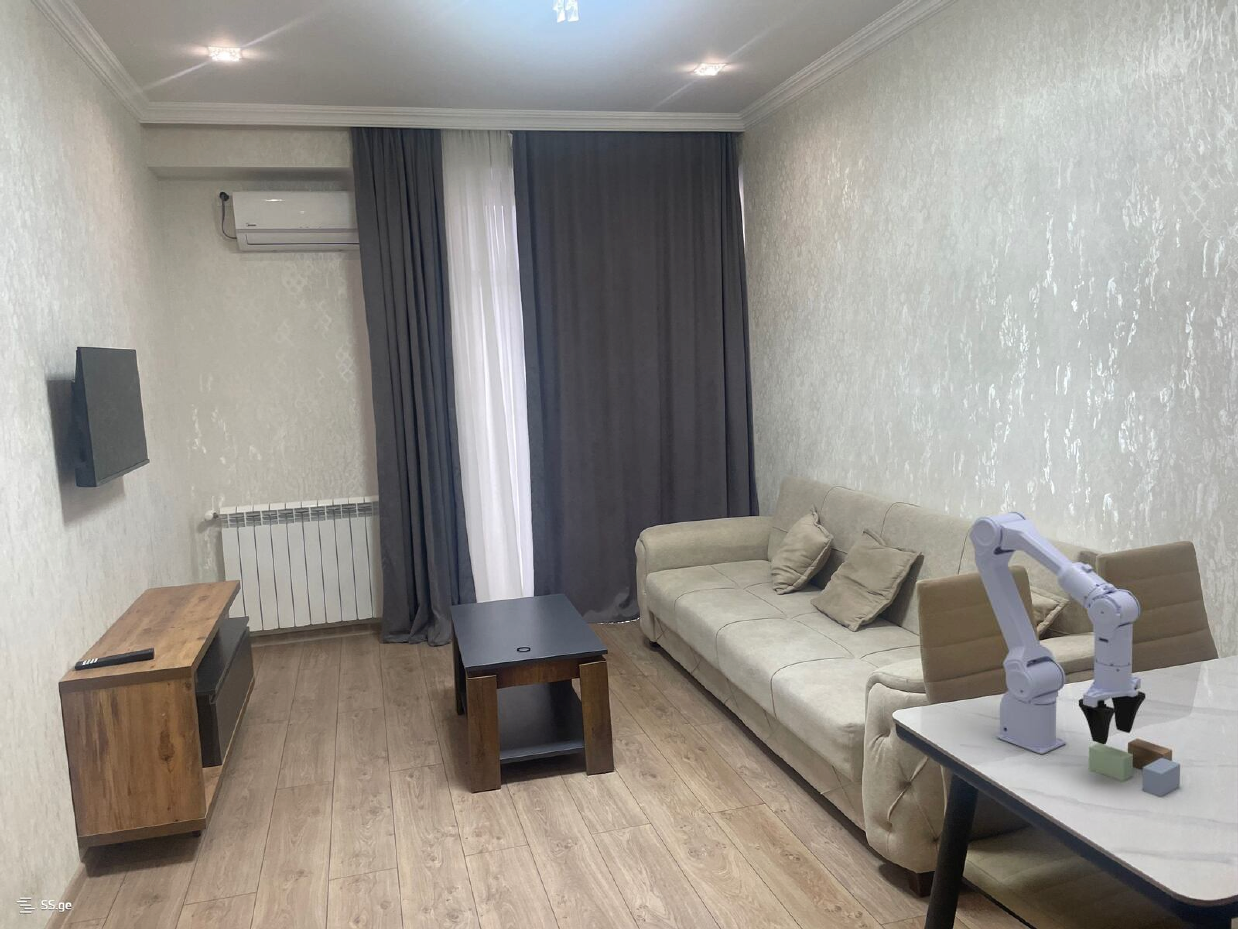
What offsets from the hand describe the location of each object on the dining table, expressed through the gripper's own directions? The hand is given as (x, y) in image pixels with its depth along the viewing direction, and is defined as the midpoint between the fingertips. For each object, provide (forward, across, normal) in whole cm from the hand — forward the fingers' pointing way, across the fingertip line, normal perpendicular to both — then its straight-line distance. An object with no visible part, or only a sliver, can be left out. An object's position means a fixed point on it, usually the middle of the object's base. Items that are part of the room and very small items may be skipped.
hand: (1111, 736), depth 156 cm
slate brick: (+7, +1, -8) cm, 10 cm away
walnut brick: (+7, +7, -3) cm, 10 cm away
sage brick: (+7, 0, 0) cm, 7 cm away
